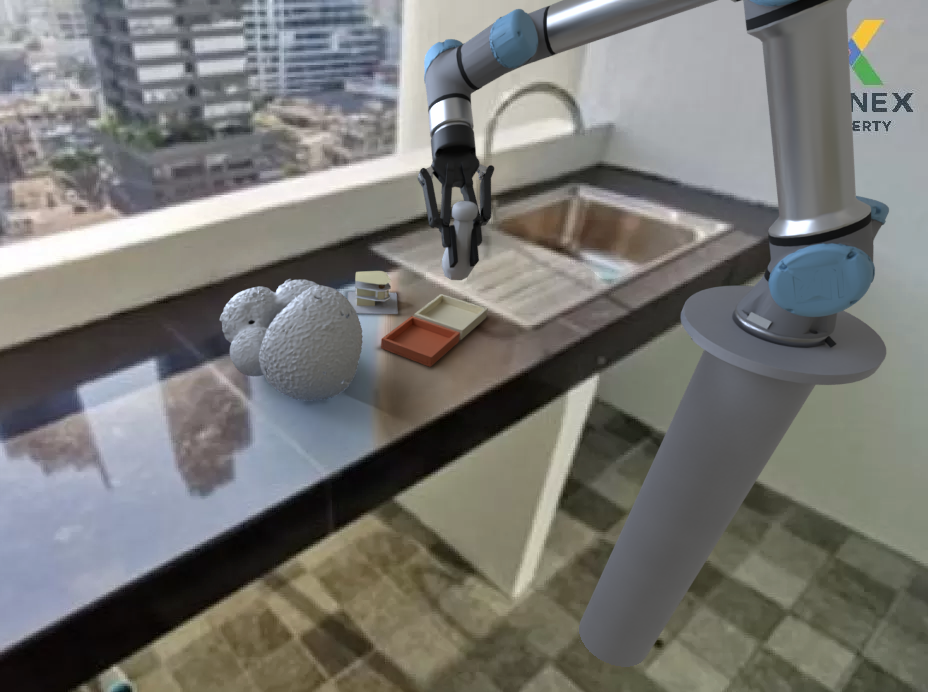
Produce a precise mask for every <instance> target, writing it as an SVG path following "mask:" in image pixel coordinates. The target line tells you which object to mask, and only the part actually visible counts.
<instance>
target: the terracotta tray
mask: <svg viewBox="0 0 928 692" xmlns="http://www.w3.org/2000/svg"><path fill="white" fill-rule="evenodd" d="M459 337H460V332H457V331H454V330H452V329H449V328H446V327H443V326H440V325H437V324H434V323H431V322H428V321H425V320H422V319H419V318H417V317H414V315H410V317H408V318H407V319H406V320H404V321H402V323H400V324H399V325H398V326H396V327H394V328H393V329H392V330H390V332H388V333H387V334H386V335H385V336H383V337H382V338H381V340H380V341H381V342H380V349H381V350H385V351H386V352H387V351H388V352H389V353H393V354H395V355H398V356H400V357H403V358H406V359H408V360H410V361H413V362H416V363H418V364H422V365H424V366H426V367H429V368H431V367H432V366H434V364H436V363H437V362H438V361H439V360H440V359H442V357H444V356H445V355H446V354H447V353H448V352H449V351H451V350H452V349H453V347H455V346H456V345H458V343H459V342H460V339H459Z"/></svg>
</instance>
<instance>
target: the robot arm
mask: <svg viewBox="0 0 928 692" xmlns="http://www.w3.org/2000/svg"><path fill="white" fill-rule="evenodd" d="M717 1H718V0H559V1H557V2H554V3H552V4H549V5H548V6H544V7H541V8H538V9H537V10H534V11H531V12H529V13H528V12H526V11H525V10H524V9H522V8H515V9H513V10H512V11H510V12H508V13H507V14H505V15H503V16H500V17H498V18H497V19H496V20H495V21H494V22H493V23H491V24H490V25H489V26H487V27H485V28H484V29H483V30H482V31H480V32H479V33H477V34H476V35H474V36H473V37H471V38H470V39H468V40H467V41H466V42H464V43H463V42H462V41H461V40H457V39H455V38H448V39H445V40H444V41H438V42H436V43H434V44H433V45H431V46H430V48H429V49H428V50H427V51H426V53H425V55H424V60H423V61H424V75H423V80H424V84H425V92H426V101H427V112H428V123H429V124H428V125H429V137H430V149H431V160H432V162H431V165H430V166H429V167H427V168H425V167H421V168H420V170H419V173H418V174H417V178H416V179H417V181H418V182H419V185H420V186H421V188H422V192H423V197H424V203H425V208H426V214H427V220H428V225H429V227H430V228H431V229H438V231H439V233H440V235H441V237H440V238H441V246H442V248H444V249H446V248H448V254H449V265H450V268H454V267H455V265H456V264H457V263H458V255H457V244H456V233H455V226H454V225H453V224H451V217H452V196H453V189H454V188H459V190H460V193H461V195H462V198H463V201H470V202H473V203H475V204H476V205H477V207H478V213H477V217H476V218H475V219H474V220H473V229H472V235H471V251H470V267H474V268H475V266H477V264H478V263H479V261H480V257H479V255H480V254H479V247H480V246H481V245H482V243H483V235H482V234H483V233H482V227H483V226H486V225H487V224H489V221H490V220H491V218H492V177H493V175H494V172H495V166H494V165H492V164H490V165H488V166H487V165H486V166H485V165H483V164H481V163H480V159H479V158H478V157H477V149H476V148H477V147H476V139H475V131H474V119H473V109H472V94H473V93H475V92H476V91H478V90H480V89H482V88H483V87H485V86H487V85H488V84H490V83H492V82H494V81H495V80H497V79H499V78H500V77H502V76H504V75H507V74H508V73H511V72H513V71H515V70H517V69H521V68H522V67H524V66H527V65H529V64H532V63H536V62H539V61H540V60H544V59H547V58H550V57H553V56H555V55H558V54H561V53H565V52H567V51H571V50H573V49H576V48H580V47H582V46H585V45H588V44H591V43H594V42H597V41H600V40H604V39H606V38H609V37H612V36H615V35H618V34H622V33H625V32H627V31H630V30H633V29H636V28H639V27H642V26H645V25H648V24H652V23H654V22H656V21H657V22H658V21H660V20H663V19H666V18H670V17H673V16H675V15H678V14H681V13H684V12H687V11H691V10H693V9H696V8H699V7H702V6H705V5H708V4H712V3H714V2H717ZM730 1H731V2H733V3H738V2H741V1H743V2H742V3H743V9H744V20H745V29H746V34H748V35H750V36H752V37H754V38H756V39H758V40H759V41H760V42H761V45H762V54H763V65H764V74H765V75H764V76H765V85H766V94H767V104H768V114H769V124H770V135H771V146H772V156H773V166H774V175H775V176H774V177H775V185H776V186H775V187H776V194H777V195H776V196H777V197H776V198H777V206H778V217H777V218H776V219H775V221H774V222H773V223H772V224H771V225H770V226H769V228H768V231H767V234H768V244H769V254H770V261H769V263H768V265H767V267H766V270H765V271H764V274H763V275H762V277H761V278H760V280H759V281H757V283H756V284H755V285H753V286H754V287H753V288H752V289H751V290H750V291H749V292H748V293H747V294H746V295H745V296H744V297H743V298H742V299H741V301H740V302H739V303H738V304H737V306H736V308H735V310H734V312H733V314H732V318H733V321H734V322H735V324H736V325H737V326H738V327H739V328H741V329H742V330H743V331H745V332H746V333H748V334H750V335H752V336H754V337H756V338H759V339H761V340H764V341H767V342H770V343H774V344H778V345H782V346H788V347H798V348H809V347H817V346H821V345H823V344H825V343H827V344H828V345H829V347H830V348H831V347H833V346H835V345H836V343H835V342H834V341H833V339H832V338H831V335H832V334H833V332H834V330H835V325H836V318H837V313H838V312H841V311H845V310H847V309H849V308H851V307H853V306H854V305H855V304H857V303H858V302H859V301H860V300H862V299H863V297H864V296H865V295H866V294H867V292H868V291H869V289H870V287H871V284H872V283H873V281H874V279H875V275H876V267H875V263H874V248H875V247H874V241H875V238H876V236H877V235H878V233H879V231H880V229H881V228H882V226H884V225H885V224H886V222H887V221H886V219H887V217H888V215H889V213H890V207H889V206H888V205H887V203H884V202H883V201H882V202H881V201H879V200H876V199H873V198H868V197H864V196H859V195H856V193H857V192H856V173H855V152H854V151H855V150H854V129H853V112H852V111H853V110H852V109H853V108H852V91H851V71H850V70H851V68H850V51H849V32H848V31H849V29H848V11H847V10H848V8H849V6H850V4H851V2H852V1H853V0H730ZM476 173H477V174H478V180H479V181H480V183H479V205H478V201H477V197H476V192H475V189H474V180H473V178H474V176H475V174H476ZM434 177H435V178H436V179H437V180H438V182H439V183H440V185H441V189H440V190H441V191H440V192H441V203H440V213H439V208H438V203H437V198H436V192H435V187H434V186H435V185H434V182H433V181H434V180H433V178H434Z"/></svg>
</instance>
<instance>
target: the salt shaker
mask: <svg viewBox="0 0 928 692" xmlns="http://www.w3.org/2000/svg"><path fill="white" fill-rule="evenodd" d="M478 208H479V206H478V207H477V205H476V204H475V203H473V202H470V201H464V200H460V201H456V202H455V203H454V204H453V205H452V207H451V217H452V218H453V219H454V220H453V223H452V225H454V226H455V233H456V244H457V255H458V263H457V264H456V265H455V267H454V268H450V265H449V254H448V248H444V252H443V255H442V260H441V268H442V272H443V276H444V277H445V278H447V279H449V280H451V281H463V280H465V279H468V277H469V276H470V274H471V273H472V271H473V270H474V268H475V266H474V267H470V251H471V235H472V229H473V220H474V219H475V218H476V217H477V213H478Z"/></svg>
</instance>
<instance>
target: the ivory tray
mask: <svg viewBox="0 0 928 692" xmlns="http://www.w3.org/2000/svg"><path fill="white" fill-rule="evenodd" d="M488 311H489V309H488V307H485V306H481V305H478V304H476V303H472V302H469V301H466V300H463V299H459V298H456V297H453V296H450V295H446V294H443V293H440V294H439V295H437V296H436V297H434V298H433V299H432V300H430V301H429V302H427V304H425V305H424V306H423V307H421V308H420V309H419V310H417V311H416V312H415V313H414V314H413V316H414V317H417V318H419V319H422V320H425V321H428V322H431V323H434V324H437V325H440V326H443V327H446V328H449V329H452V330H454V331H457V332H460V337H459V341H461V340H463V339H464V338H465V337H466V336H468V334H470V333H471V332H472V331H473V330H474V329H475V328H476V327H477V326H479V325H480V324H481V323H482V322H483V321H484V320H486V319H487V316H488Z"/></svg>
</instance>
